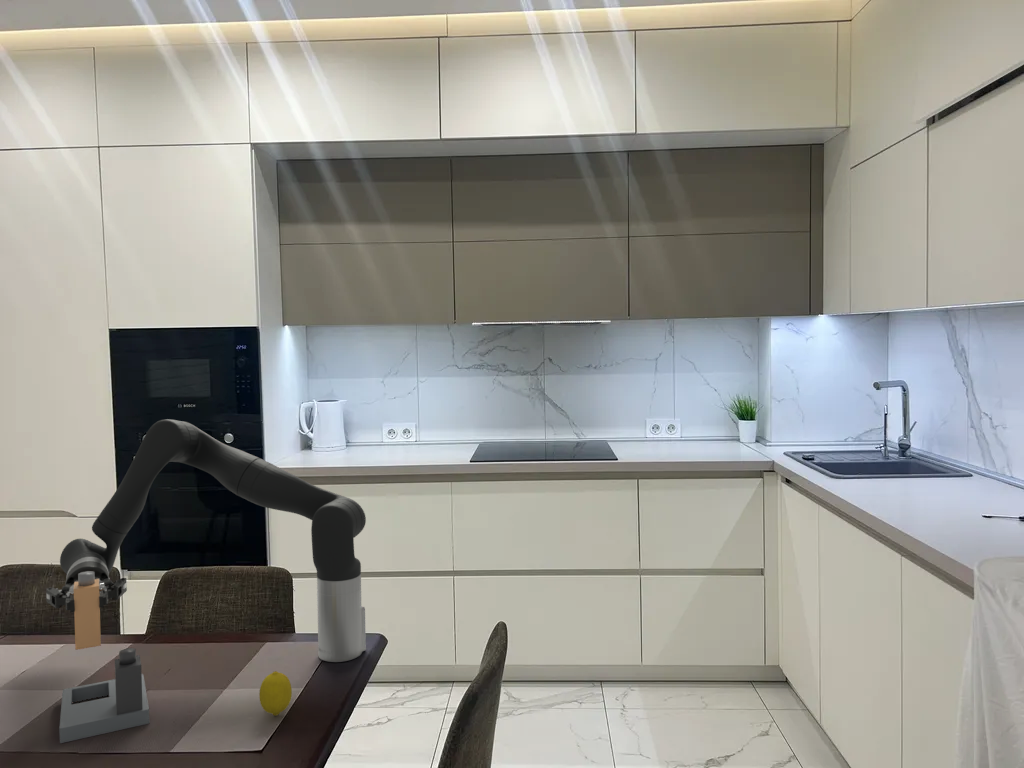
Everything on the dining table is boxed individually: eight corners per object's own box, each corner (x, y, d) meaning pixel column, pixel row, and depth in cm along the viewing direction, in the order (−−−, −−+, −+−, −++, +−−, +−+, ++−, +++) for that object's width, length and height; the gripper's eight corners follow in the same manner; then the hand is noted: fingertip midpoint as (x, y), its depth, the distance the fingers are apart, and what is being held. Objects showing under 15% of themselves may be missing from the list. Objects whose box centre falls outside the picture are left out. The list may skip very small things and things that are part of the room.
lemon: (295, 707, 137) (294, 664, 137) (287, 722, 131) (286, 677, 131) (265, 708, 137) (264, 665, 136) (255, 723, 131) (254, 678, 131)
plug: (100, 636, 141) (98, 568, 140) (100, 645, 136) (98, 575, 136) (75, 640, 139) (73, 571, 138) (75, 649, 135) (73, 578, 134)
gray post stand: (143, 686, 146) (141, 623, 146) (149, 723, 132) (147, 653, 131) (63, 702, 140) (61, 636, 139) (59, 743, 125) (57, 669, 124)
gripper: (45, 565, 146) (39, 590, 131) (127, 555, 153) (130, 578, 138) (46, 603, 146) (41, 632, 132) (127, 592, 153) (131, 618, 138)
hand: (87, 604), depth 135 cm, fingers closed on plug, 4 cm apart
